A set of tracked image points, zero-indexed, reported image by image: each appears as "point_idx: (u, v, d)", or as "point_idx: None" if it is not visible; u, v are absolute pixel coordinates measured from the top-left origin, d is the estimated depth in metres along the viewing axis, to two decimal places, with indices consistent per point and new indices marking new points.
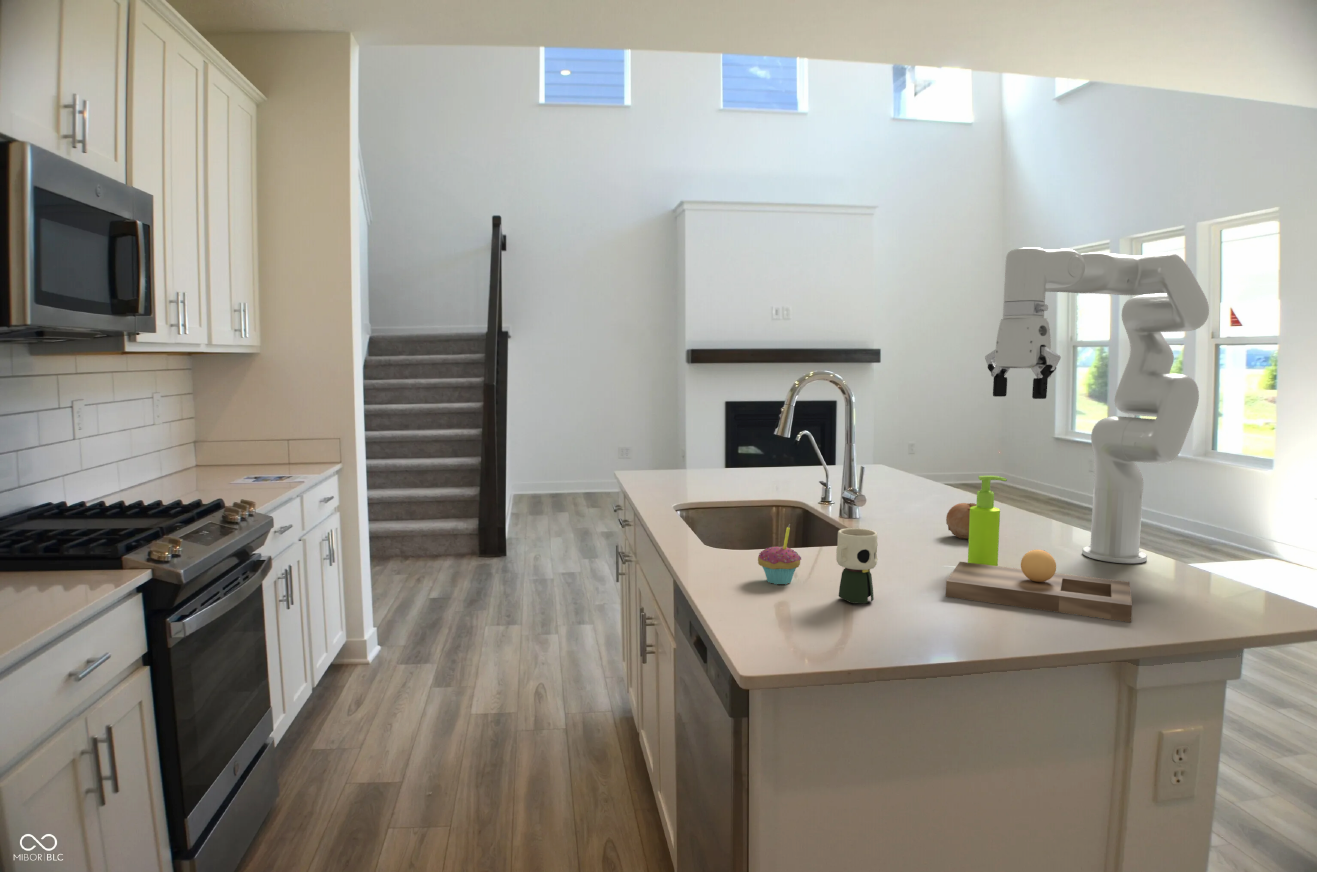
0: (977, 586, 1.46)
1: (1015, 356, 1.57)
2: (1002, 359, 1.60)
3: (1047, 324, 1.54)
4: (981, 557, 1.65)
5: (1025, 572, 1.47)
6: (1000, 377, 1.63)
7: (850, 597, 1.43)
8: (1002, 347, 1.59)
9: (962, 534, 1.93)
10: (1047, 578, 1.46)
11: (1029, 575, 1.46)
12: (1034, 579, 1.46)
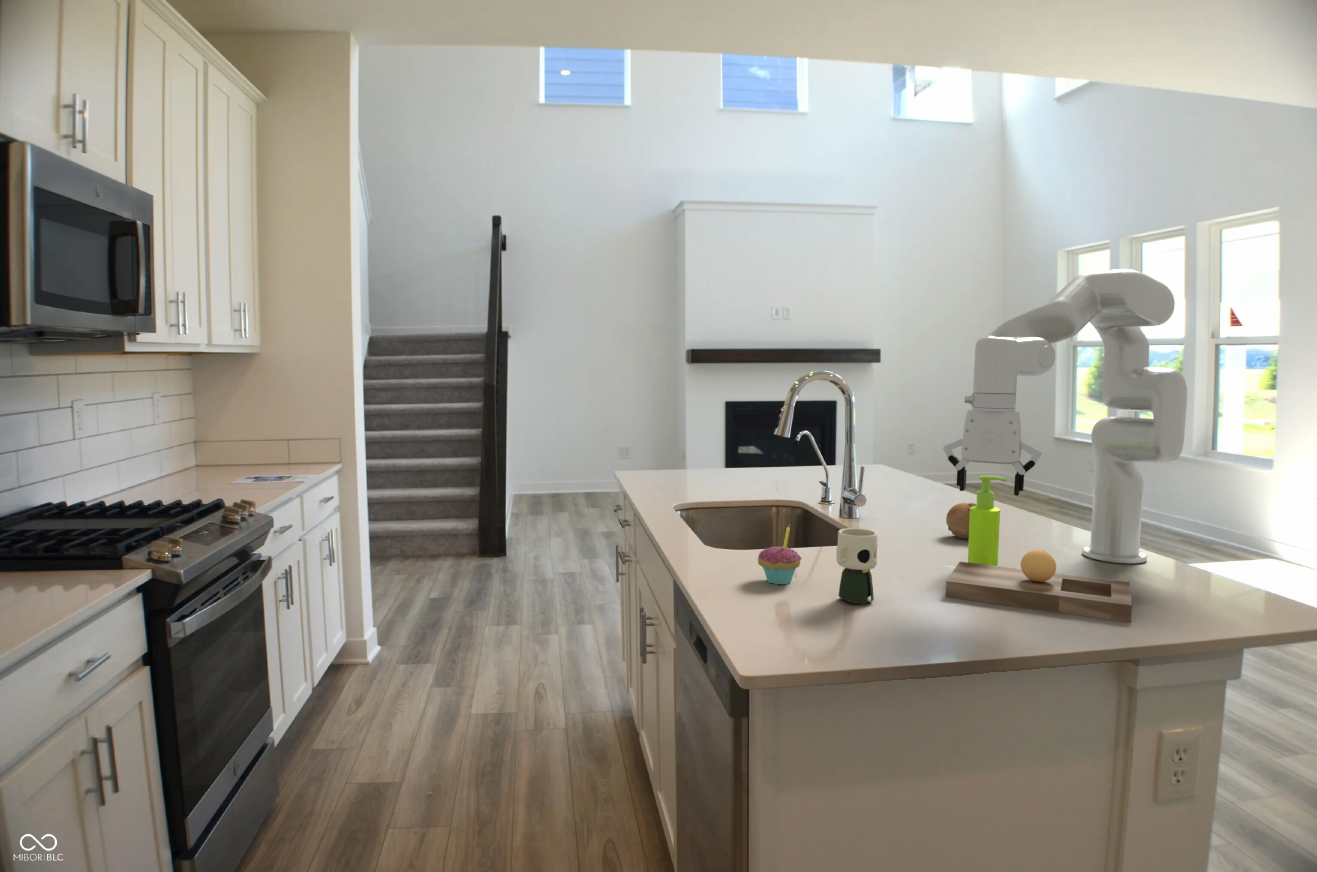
0: (977, 586, 1.46)
1: None
2: None
3: (966, 416, 1.50)
4: (981, 557, 1.65)
5: (1025, 572, 1.47)
6: None
7: (850, 597, 1.43)
8: None
9: (962, 534, 1.93)
10: (1047, 578, 1.46)
11: (1029, 575, 1.46)
12: (1034, 579, 1.46)
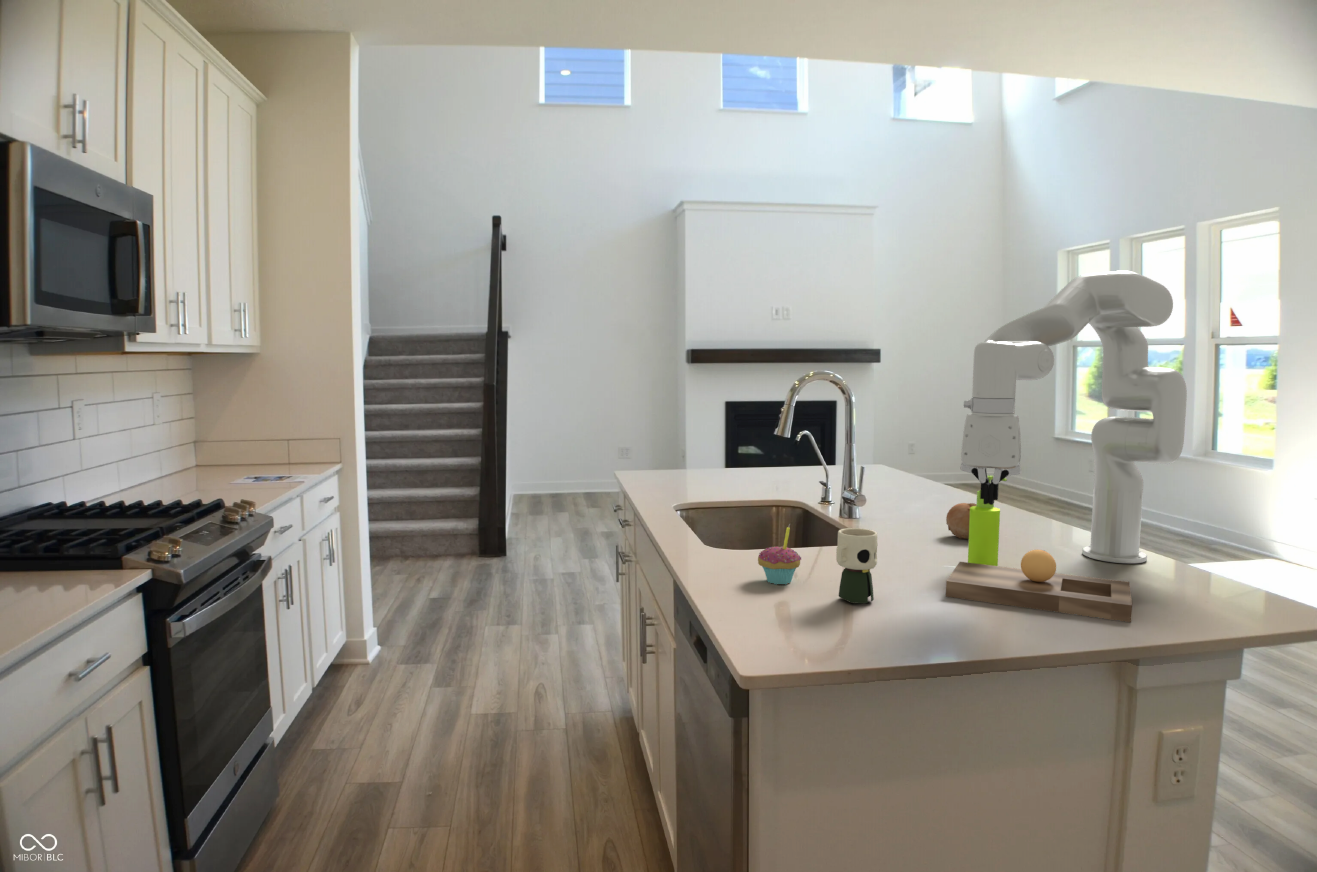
0: (977, 586, 1.46)
1: None
2: None
3: (965, 421, 1.50)
4: (981, 557, 1.65)
5: (1025, 572, 1.47)
6: None
7: (850, 597, 1.43)
8: None
9: (962, 534, 1.93)
10: (1047, 578, 1.46)
11: (1029, 575, 1.46)
12: (1034, 579, 1.46)
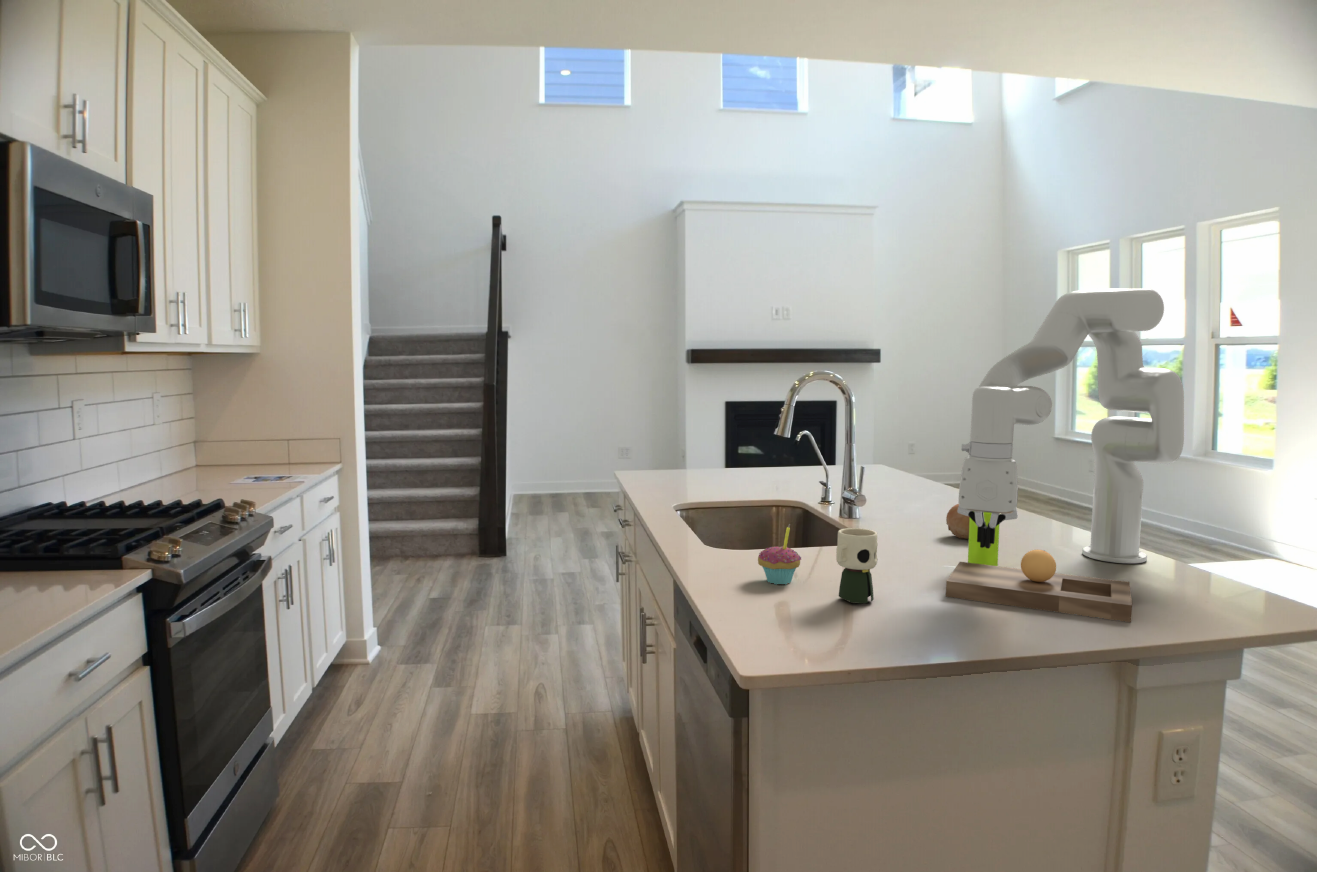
0: (977, 586, 1.46)
1: None
2: None
3: (963, 464, 1.51)
4: (981, 557, 1.65)
5: (1025, 572, 1.47)
6: (988, 526, 1.51)
7: (850, 597, 1.43)
8: None
9: (962, 534, 1.93)
10: (1047, 578, 1.46)
11: (1029, 575, 1.46)
12: (1034, 579, 1.46)
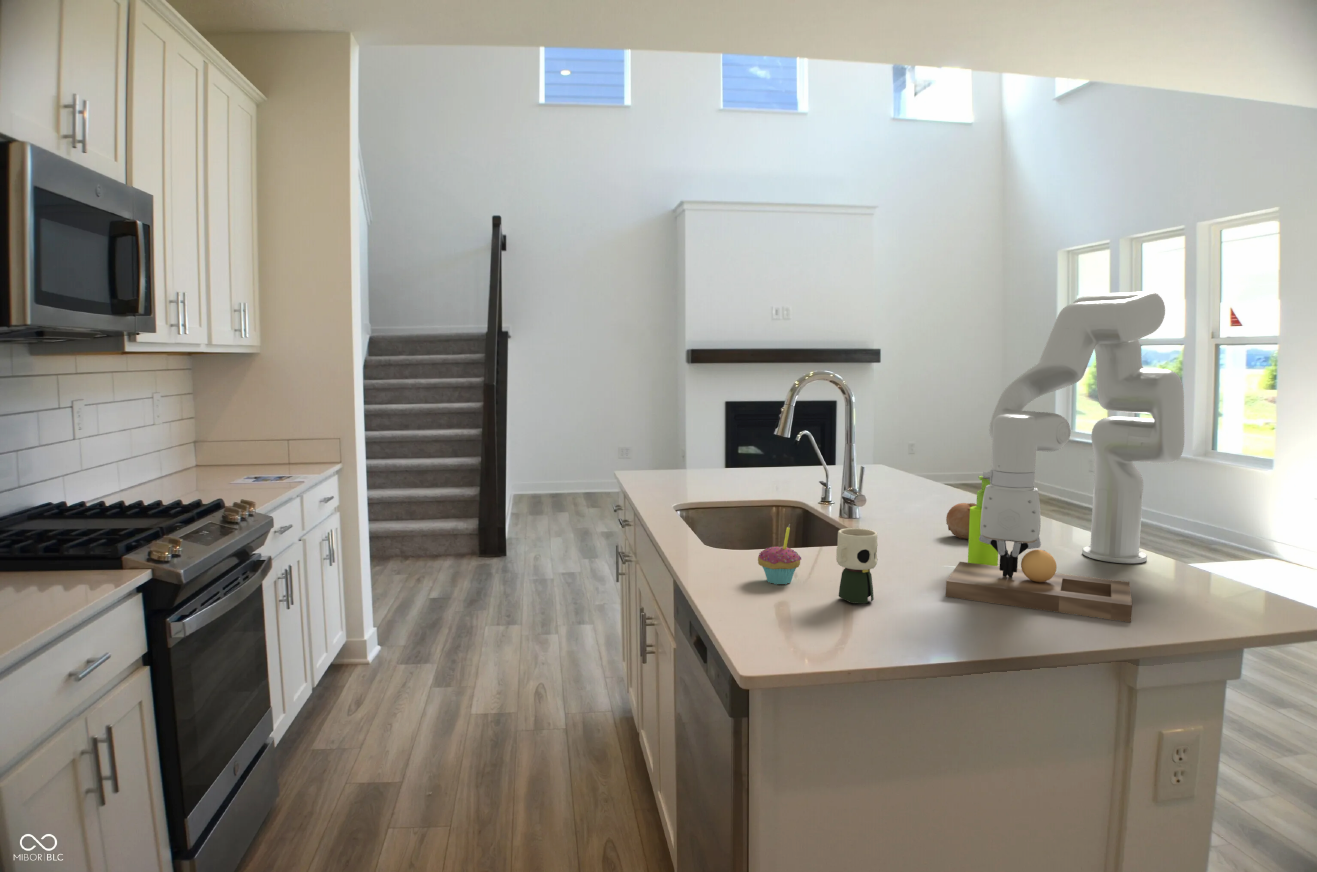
0: (977, 586, 1.46)
1: None
2: None
3: (984, 492, 1.50)
4: (981, 557, 1.65)
5: (1025, 572, 1.47)
6: None
7: (850, 597, 1.43)
8: None
9: (962, 534, 1.93)
10: (1047, 579, 1.46)
11: (1029, 575, 1.46)
12: (1034, 579, 1.46)
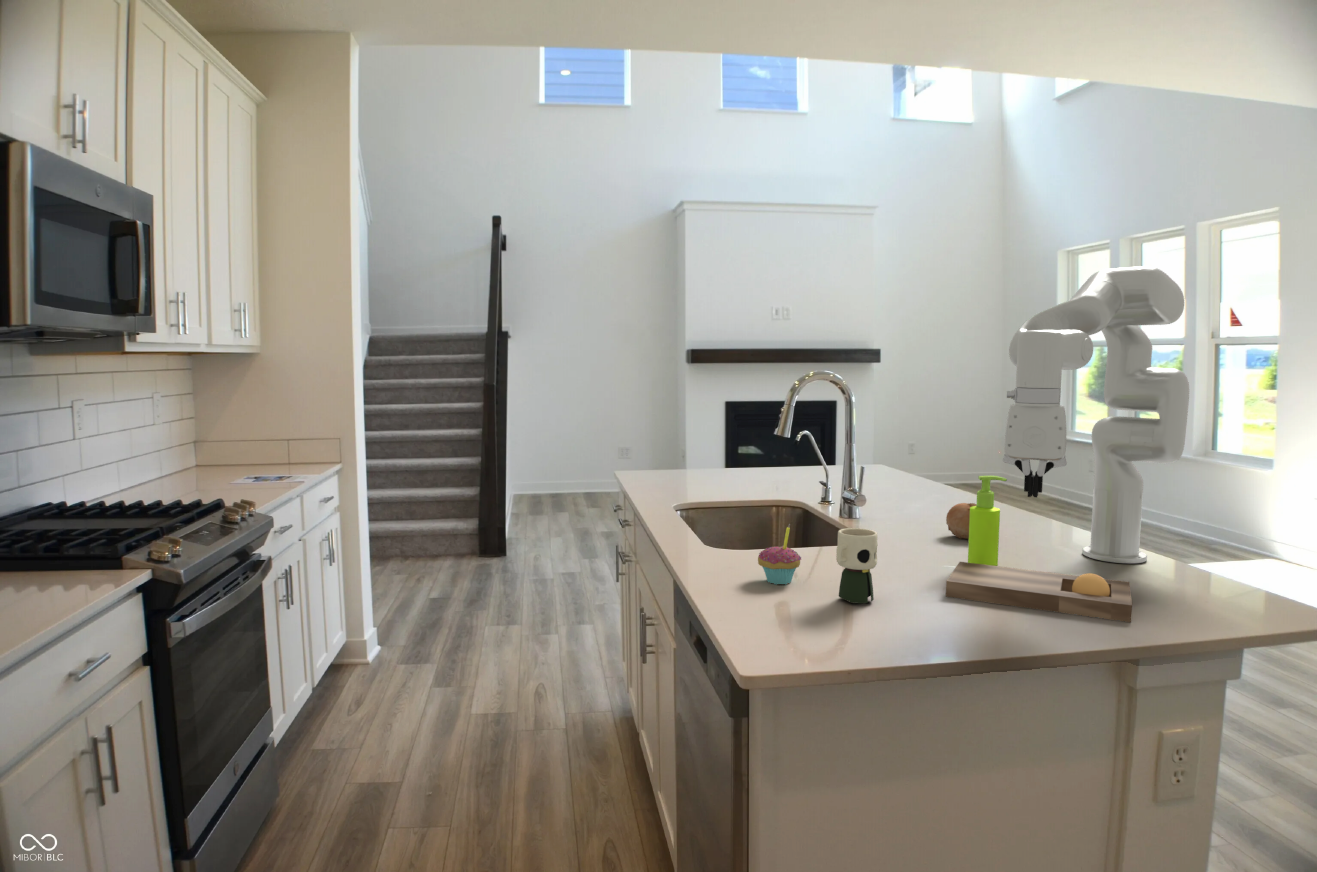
0: (977, 586, 1.46)
1: None
2: None
3: None
4: (981, 557, 1.65)
5: None
6: None
7: (850, 597, 1.43)
8: None
9: (962, 534, 1.93)
10: None
11: None
12: None
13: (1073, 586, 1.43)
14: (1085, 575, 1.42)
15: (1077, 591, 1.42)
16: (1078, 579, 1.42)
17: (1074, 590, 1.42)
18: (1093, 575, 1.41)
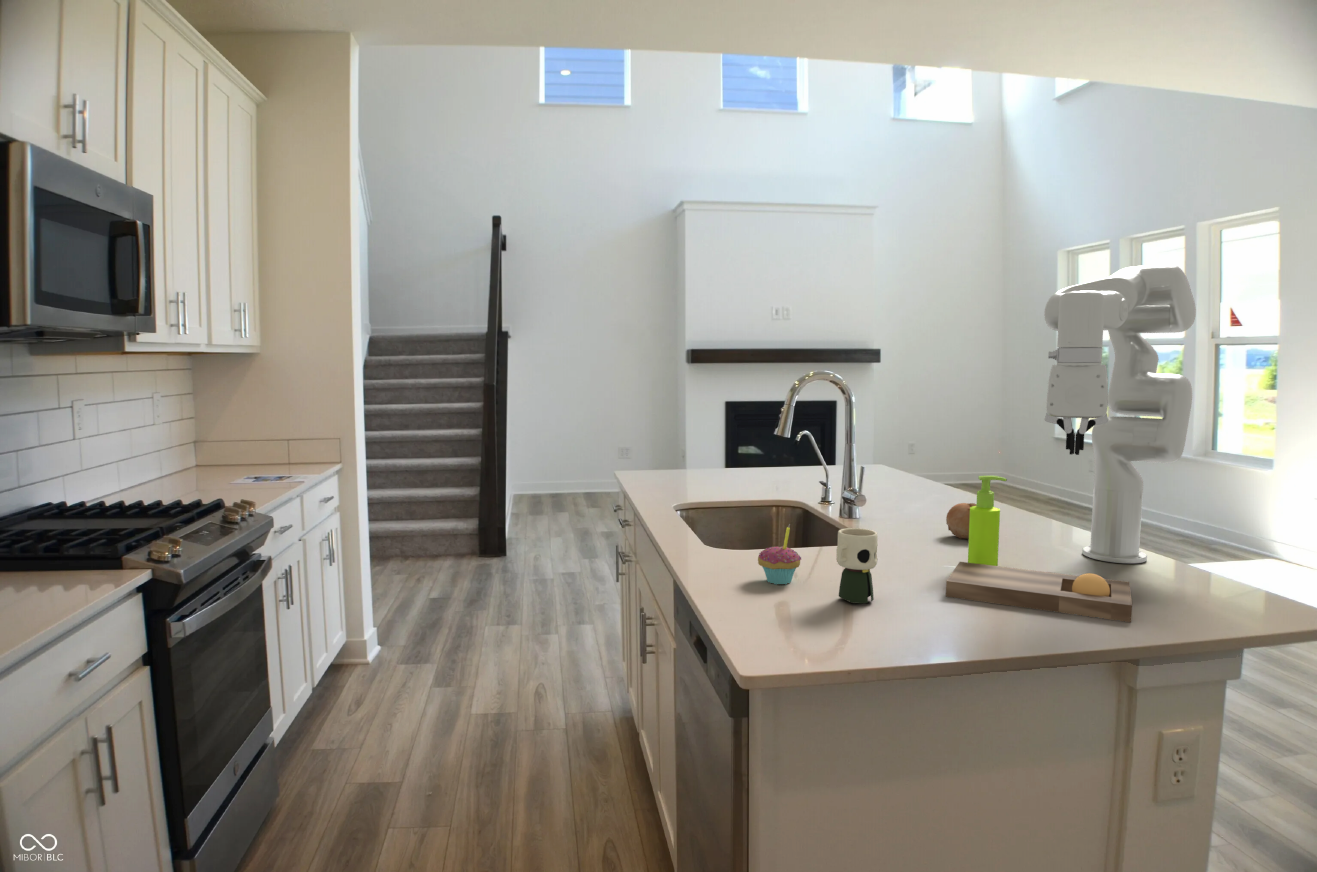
0: (977, 586, 1.46)
1: None
2: None
3: (1050, 371, 1.50)
4: (981, 557, 1.65)
5: None
6: (1077, 433, 1.51)
7: (850, 597, 1.43)
8: None
9: (962, 534, 1.93)
10: None
11: None
12: None
13: (1073, 586, 1.43)
14: (1085, 575, 1.42)
15: (1077, 591, 1.42)
16: (1078, 579, 1.42)
17: (1074, 590, 1.42)
18: (1093, 575, 1.42)
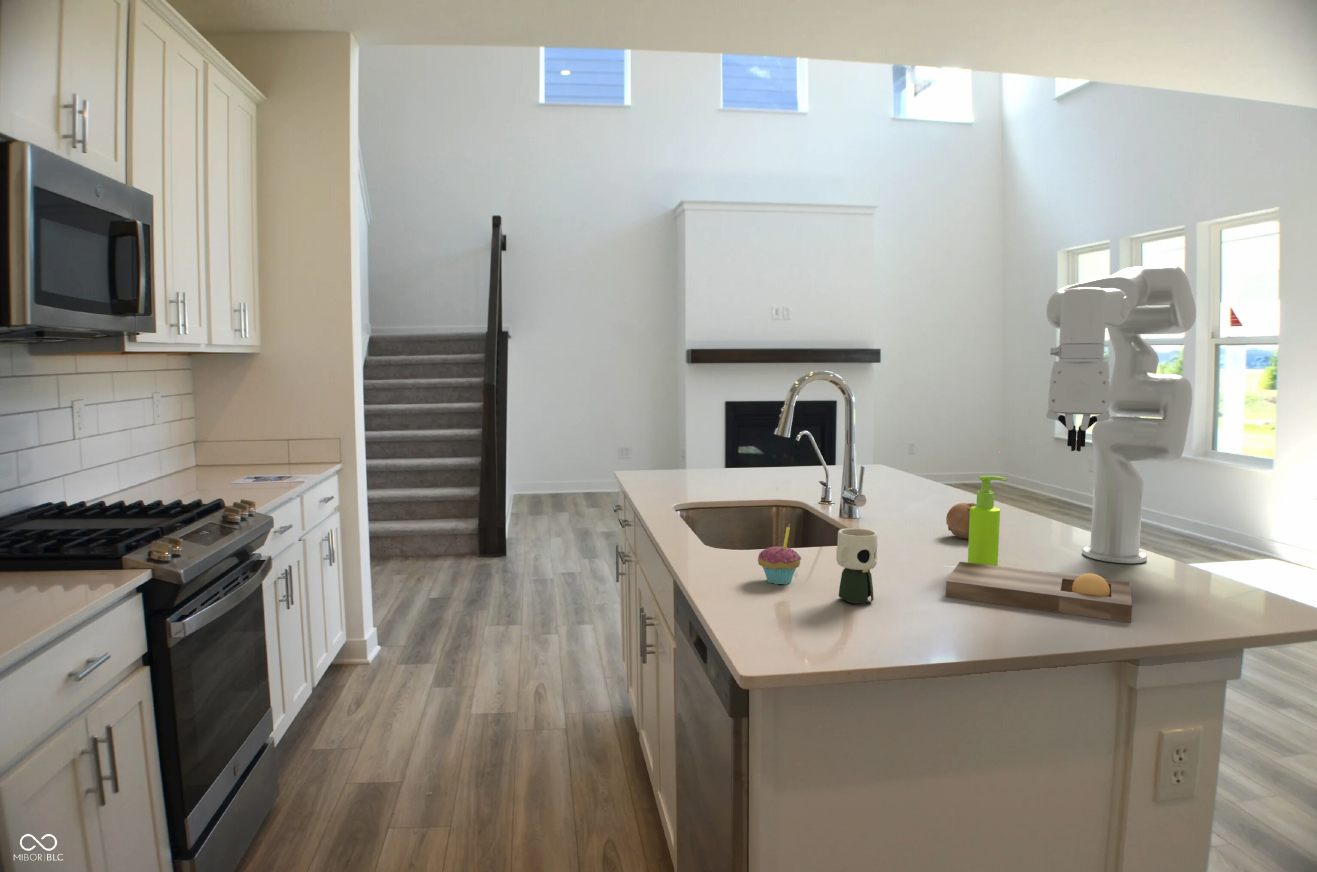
0: (977, 586, 1.46)
1: None
2: None
3: (1052, 368, 1.50)
4: (981, 557, 1.65)
5: None
6: None
7: (850, 597, 1.43)
8: None
9: (962, 534, 1.93)
10: None
11: None
12: None
13: (1073, 586, 1.43)
14: (1085, 575, 1.42)
15: (1077, 591, 1.42)
16: (1078, 579, 1.42)
17: (1074, 590, 1.42)
18: (1093, 575, 1.42)
